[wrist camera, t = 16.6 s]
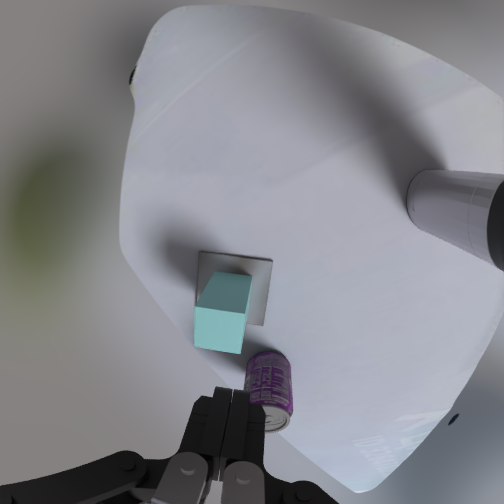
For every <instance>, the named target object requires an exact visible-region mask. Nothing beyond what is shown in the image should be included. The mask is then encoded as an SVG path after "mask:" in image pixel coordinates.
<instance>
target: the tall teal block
mask: <svg viewBox="0 0 504 504" xmlns="http://www.w3.org/2000/svg"><path fill="white" fill-rule="evenodd" d="M251 284H252V276H247V275H240V274H232V273H225V272H217V271H215V272H214V273H213V275H212V277H211V279H210V280H209V282H208V284H207V286H206V287H205V289H204V291H203V292H202V294H201V296H200V298H199V299H198V301H197V303H196V305H195V310H194V347H199V348H205V349H210V350H217V351H223V352H229V353H236V354H241V348H242V343H243V337H244V332H245V326H246V321H247V315H248V310H249V301H250V293H251Z"/></svg>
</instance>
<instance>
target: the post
mask: <svg viewBox="0 0 504 504" xmlns="http://www.w3.org/2000/svg"><path fill="white" fill-rule="evenodd" d="M272 265H273V261H270V260H262V259H255V258H247V257H240V256H232V255H225V254H217V253H210V252H202V251H200V252H199V266H198V287H197V301H198V299H199V298H200V296H201V294H202V292H203V291H204V289H205V287H206V286H207V284H208V282H209V280H210V279H211V277H212V275H213V273H214V272H215V271H217V272H225V273H232V274H240V275H247V276H252V284H251V293H250V301H249V310H248V315H247V321H246V324H251V325H259V326H263V324H264V317H265V311H266V305H267V298H268V292H269V285H270V278H271V272H272Z"/></svg>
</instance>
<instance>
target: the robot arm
mask: <svg viewBox="0 0 504 504" xmlns="http://www.w3.org/2000/svg"><path fill="white" fill-rule="evenodd" d="M407 209H408V213H409V216H410V218H411V220H412V221H413V223H414V224H415V225H416V226H417V227H418V228H419V229H421V230H423V231H425V232H427V233H429V234H431V235H434V236H435V237H438V238H440V239H442V240H444V241H446V242H448V243H450V244H452V245H454V246H456V247H458V248H460V249H462V250H464V251H466V252H468V253H470V254H472V255H474V256H476V257H478V258H480V259H482V260H484V261H486V262H488V263H490V264H491V265H493V266H495V267H497V268H499V269H500V270H502V271H504V175H503V174H492V173H481V172H468V171H451V170H425V171H422V172H420V173H419V174H418V175H417V176H415V178H414V179H413V180H412V182H411V184H410V186H409V189H408V193H407ZM232 390H233V389H229V388H223V387H215V390H214V394H213V397H207V396H201V397H200V398H199V399H198V400H197V401H196V402H195V403H194V405H193V408H192V412H191V415H190V418H189V421H188V423H187V426H186V430H185V433H184V436H183V439H182V442H181V445H180V448H179V450H178V451H177V453H176V454H175V455H173V456H172V457H170V458H167V459H160V460H156V459H144V458H143V457H142V456H140V455H139V454H138V453H136V452H133V451H120V452H117V453H114V454H112V455H110V456H107V457H104V458H101V459H99V460H96V461H93V462H90V463H88V464H85V465H82V466H79V467H76V468H73V469H69V470H66V471H63V472H59V473H56V474H52V475H49V476H45V477H41V478H37V479H32V480H29V481H23V482H18V483H13V484H7V485H2V486H0V504H205V503H206V500H207V497H208V494H209V492H210V487H211V482H212V480H215V481H217V480H218V475H219V470H220V477H219V481H222V482H223V486H222V495H221V504H339V503H338V502H336V501H335V500H334V499H333V498H331V497H330V496H329V495H328V494H327V493H326V492H324V491H323V490H322V489H321V488H320V487H319V486H318V485H316V484H314V483H313V482H310V481H296V482H293V483H289V482H286V481H283V480H280V479H277V478H274V477H273V476H271V475H270V474H269V473H268V472H267V471H266V470H265V468H264V464H263V455H264V438H265V420H266V413H265V411H264V409H263V407H262V405H261V404H253V403H249V402H250V393H251V391H243V390H236V389H234V391H233V397H232ZM231 400H232V402H231Z"/></svg>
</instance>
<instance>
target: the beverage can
mask: <svg viewBox="0 0 504 504" xmlns="http://www.w3.org/2000/svg"><path fill="white" fill-rule="evenodd" d="M243 391H251V393H250V402H249V403H253V404H261V405H262V407H263V409H264V411H265V413H266V420H265V433H274V432H278V431H281V430H283V429H284V428H286V427H287V426H288V425H289V423H290V417H291V415H292V413H293V397H292V380H291V366H290V363H289V361H288V360H287V359H286V358H285V357H284V356H282V355H280V354H278V353H274V352H264V353H260V354H257V355H255V356H253V357H252V358H251V359H250V360H249V362H248V364H247V369H246V376H245V383H244V390H243Z"/></svg>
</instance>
